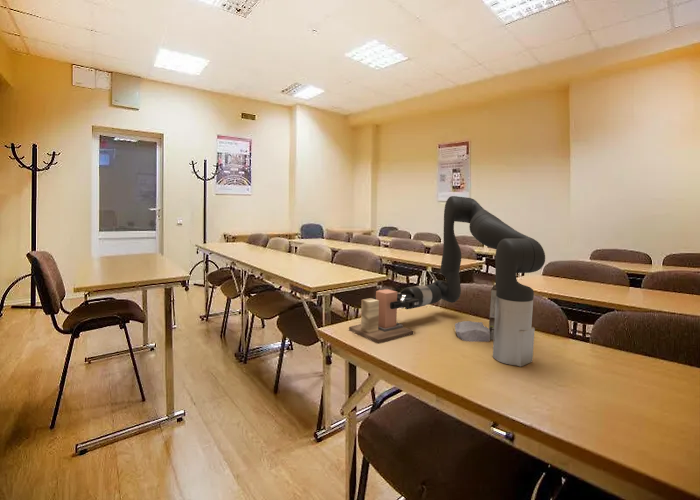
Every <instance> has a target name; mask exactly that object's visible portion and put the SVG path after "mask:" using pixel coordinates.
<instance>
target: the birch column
mask: <svg viewBox="0 0 700 500" xmlns="http://www.w3.org/2000/svg"><path fill="white" fill-rule="evenodd" d="M360 301H361V306H360V308H361V309H360V310H361V313H360V317H361V319H360V324H361V330H363V331H365V332H368V333H371V332H375V331H378V320H379V300H376V299H373V297H370V298H364V299H361V300H360Z"/></svg>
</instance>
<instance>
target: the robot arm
mask: <svg viewBox="0 0 700 500" xmlns="http://www.w3.org/2000/svg"><path fill="white" fill-rule="evenodd" d="M443 210H444V211H443V246H442V247H443V248H442V250H443V251H442V257H441V262H440V269H439V271H440V274H441V275H442V276H443V277H445V278H446V280H443V279H442V280H441V279H440V280H439V279H437V280H435V281H434V282H432V283H430V284H425V285H414V286H409V287H408V286H407V287H404V288H403V289H401V291H400V292H397V301H394V302H391V303H390V309H396V308H397V309H405V310H412V309H417V308H421V307H425V306H427V305H431V304H436V303H438V302H440V300H444V301H446V302H448V303H452V304H453V303H456V302H457V301H458V300H459V299H460V297H461V294H462V293H461V292H462V288H461V286H462V285H461V278H460V269H461V263H462V251H461V248H460V245H459V243H458V240H457V238H456V235H455V229H454V228H455V222H457V223H467V224H469V227H468V228H469V232H470V233H471V235H472V236H473V238H474V239H475V240H476V241H477V242H479V243H480V244H482V245H484V246H486V247H488V248H491V249H494V250H495V258H494V259H495V261H494V262H495V277H494V278H495V284H494V285H496V307H495V324H494V340H492V341H493V342H492V343H493V347H492V357H493V359H495V361H496V362H497V361H498V362H499V363H502V364H506V365H510V366H518V367H524V366H526V365H528V364H531V363H532V362H533V359H534V358H533V356H534V344H535V343H534V342H535V330H536V329H535V327H534V326H532V321H533V309H534V307H533V306H534V294H535V293H534V289H533V288H532V287H530V286H528V285H525V284H522V283H520V282H519V281H518V280H517V274H527V273H529V274H530V273H536V272H538V271H539V270H541V269H542V268H543V267H544V265H545V262H546V253H545V250H544V247H543V246H542V245H541V243H540V242H539V241H538V240H537V239H534V238H532V237H530V236H528V235H526V234H523V233H521V232H519V231H517V230H516V229H514V228H513V227H512V226H510V225H509V224H507V223H506V222H504V221H502V219H500V218H498V217H497V216H496V215H494V214H493V213H491V212H489V211H488V210H486V209H485V208H484V207H482V205H481V204H480V203H479V202H478V201H477V200H476V199H474V198H471V197H465V196H457V195H451V196H449V197H448V198H447V199H446V201H445V205H444V209H443ZM372 299H376V296H374V297H372Z"/></svg>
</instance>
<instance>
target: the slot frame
mask: <svg viewBox="0 0 700 500" xmlns="http://www.w3.org/2000/svg"><path fill="white" fill-rule="evenodd" d="M403 327H404V325H403V324H401V323H398V322H396V326H394V327H390V328H386V329H384V328H382V327H379V326H378V329H379V330H381V331H384V332H386V331H390V330H395V329H399V328H403Z"/></svg>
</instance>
